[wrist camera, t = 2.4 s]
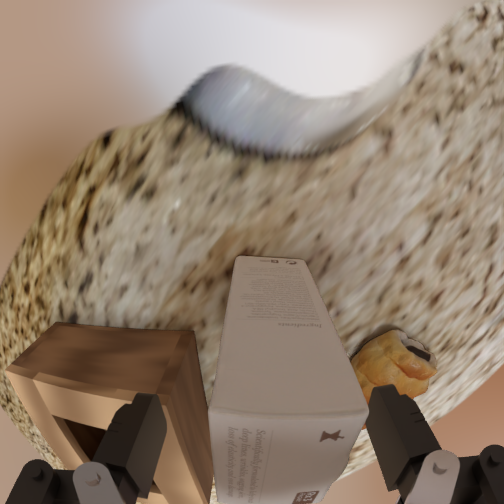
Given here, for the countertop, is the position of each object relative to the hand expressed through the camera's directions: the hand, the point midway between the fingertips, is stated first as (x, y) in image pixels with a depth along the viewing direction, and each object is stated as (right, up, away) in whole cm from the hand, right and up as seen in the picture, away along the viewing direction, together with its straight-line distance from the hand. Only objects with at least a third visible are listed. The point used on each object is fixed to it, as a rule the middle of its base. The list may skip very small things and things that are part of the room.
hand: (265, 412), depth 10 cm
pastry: (+9, -4, +11) cm, 15 cm away
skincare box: (+1, +3, +9) cm, 9 cm away
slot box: (-10, -6, +12) cm, 17 cm away
